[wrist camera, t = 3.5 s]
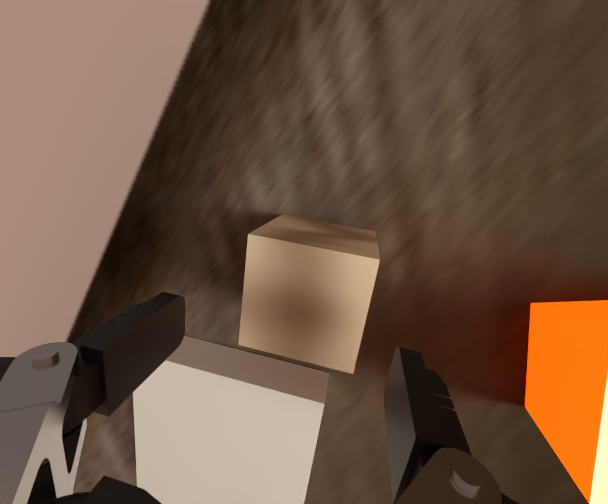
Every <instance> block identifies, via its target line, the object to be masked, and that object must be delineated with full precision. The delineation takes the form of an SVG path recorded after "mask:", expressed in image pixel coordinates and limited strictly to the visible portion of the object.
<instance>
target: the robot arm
mask: <svg viewBox="0 0 608 504" xmlns="http://www.w3.org/2000/svg"><path fill="white" fill-rule="evenodd" d="M184 333H185V299H184V297H182V296H179V295H174V294H170V293H166V292H162V293H160V294H159V295H157V296H155V297H154V298H152V299H151V300H149V301H148V302H143V303H140V304H137V305H135V306H132V307H130V308H128V309H127V310H125V311H123V312H122V313H120V314H119V316H115V317H114V318H112V319H110V320H109V322H105V323H104V324H102V325H101V326H99V327H97V328H96V329H94V330H93V331H91V332H89V333H88V334H86V335H84V336H83V337H81V338H80V339H78V340H76V341H75V342H73V343H71V344H70V343H65V342H56V343H48V344H44V345H40V346H37V347H34V348H32V349H29V350H27V351H26V352H24V353H22V354H21V355H19V356H18V357H0V504H162V503H160V502H159V501H158V500H157V499H156V498H154V497H153V496H152V495H151V494H150V493H148V492H147V491H146V490H145V489H142V488H139V487H136V486H133V485H130V484H127V483H124V482H122V481H119V480H116V479H113V478H110V477H107V476H103V478H102V479H101V480H100V481H99V482H98V484H97V485H96V486H95V487H94V488H93V490H92V491H91V492H83V493H74V494H73V487H74V481H75V477H76V472H77V468H78V463H79V459H80V454H81V450H82V445H83V440H84V436H85V431H86V427H87V421H86V418H87V417H88V416H89V415H90V414H91V413H92V412H96V413H100V414H103V415H106V416H110V415H111V414H112V413H113V412H114V411H115V410H116V409H117V408H118V407H119V406H120V405H121V404H122V403H123V402H124V401H125V400H126V399H127V398H128V397H129V396H130V395H131V394H132V393H133V392H134V391H135V390H136V389H137V388H138V387H139V386H140V385H141V384H142V383H143V382H144V381H145V380H146V379H147V378H148V377H149V376H150V375H151V374H152V373H153V372H154V371H155V370H156V369H157V368H158V367H159V366H160V365H161V364H162V363H163V362H164V361H165V360H166V359H167V358H168V357H169V356H170V355H171V354H172V353H173V352H174V351H175V350H176V349H177V348H178V347H179V346H180V344H181V342H182V340H183V337H184ZM384 408H385V420H386V432H387V444H388V456H389V469H390V481H391V493H392V504H519V503H517V502H515V501H513V500H512V499H510V498H509V497H507V496H506V495H504V494H503V493H501V492H500V489H499V486H498V484H497V482H496V480H495V479H494V477H493V476H492V474H491V473H490V472H489V471H488V470H487V468H486V467H485V466H484V465H483V464H481V463H480V462H479V461H478V460H477V459H475V458H474V457H472V455H471V452H470V449H469V447H468V444H467V441H466V438H465V436H464V433H463V430H462V427H461V425H460V422H459V419H458V417H457V414H456V412H455V411H454V409H455V408H454V406H453V403H452V400H450V395H449V392H448V389H447V387H446V384H445V383H444V382H443V380H442V379H441V378H440V377H439V376H438V374H437V373H436V372H435V371H432V370H428V369H425V366H424V362H423V359H422V356H421V353H420V352H418V351H414V350H409V349H405V348H401V347H397V348H396V350H395V353H394V356H393V360H392V363H391V367H390V370H389V374H388V377H387V381H386V385H385V391H384Z"/></svg>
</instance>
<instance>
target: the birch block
mask: <svg viewBox="0 0 608 504" xmlns="http://www.w3.org/2000/svg"><path fill="white" fill-rule="evenodd" d="M379 262H380V256H379V250H378V243H377V237H376V231H372V230H366V229H361V228H355V227H349V226H344V225H338V224H333V223H327V222H322V221H316V220H311V219H305V218H300V217H294V216H289V215H283V214H282V215H281V216H279V217H277V218H275V219H273V220H272V221H270V222H268V223H266V224H265V225H263V226H261V227H259V228H258V229H256V230H254V231H252V232H251V233H249V234H248V241H247V253H246V264H245V276H244V287H243V299H242V310H241V321H240V333H239V344H238V345H242V346H246V347H250V348H253V349H257V350H261V351H265V352H269V353H273V354H277V355H281V356H285V357H289V358H292V359H296V360H300V361H304V362H308V363H312V364H316V365H320V366H324V367H328V368H331V369H335V370H339V371H343V372H347V373H351V374H353V372H354V368H355V364H356V360H357V355H358V351H359V347H360V343H361V338H362V334H363V330H364V326H365V321H366V317H367V313H368V309H369V304H370V300H371V296H372V292H373V287H374V283H375V279H376V275H377V270H378V266H379Z"/></svg>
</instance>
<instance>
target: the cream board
mask: <svg viewBox="0 0 608 504" xmlns="http://www.w3.org/2000/svg"><path fill="white" fill-rule="evenodd" d="M329 375H330V373H328V372H324V371H320V370H316V369H312V368H309V367H305V366H301V365H297V364H293V363H289V362H285V361H281V360H278V359H274V358H270V357H266V356H262V355H258V354H254V353H250V352H246V351H243V350H239V349H235V348H231V347H227V346H223V345H219V344H215V343H211V342H208V341H204V340H200V339H196V338H192V337H188V336H184V337H183V340H182V342H181V344H180V346H179V347H178V348H177V349H176V350H175V351H174V352H173V353H172V354H171V355H170V356H169V357H168V358H167V359H166V360H165V361H164V362H163V363H162V364H161V365H160V366H159V367H158V368H157V369H156V370H155V371H154V372H153V373H152V374H151V375H150V376H149V377H148V378H147V379H146V380H145V381H144V382H143V383H142V384H141V385H140V386H139V387H138V388H137V389H136V390H135V391H134V392H133V405H134V427H135V449H136V471H137V487H139V488H142V489H145V490H146V491H147V492H148V493H150V494H151V495H152V496H153V497H154V498H156V499H157V500H158V501H159V502H160V503H162V504H304V501H305V496H306V491H307V486H308V481H309V476H310V472H311V467H312V462H313V457H314V452H315V447H316V442H317V438H318V433H319V428H320V423H321V418H322V413H323V409H324V404H325V398H326V392H327V386H328V380H329Z"/></svg>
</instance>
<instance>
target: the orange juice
mask: <svg viewBox="0 0 608 504" xmlns="http://www.w3.org/2000/svg"><path fill="white" fill-rule="evenodd" d="M525 408H526V409H527V411H528V412H529V414H530V415H531V417H532V418H533V420H534V421H535V423H536V424H537V426H538V427H539V429H540V430H541V432H542V433H543V435H544V436H545V438H546V439H547V441H548V442H549V444H550V445H551V447H552V448H553V450H554V451H555V453H556V454H557V456H558V457H559V459H560V460H561V462H562V463H563V465H564V466H565V468H566V469H567V471H568V472H569V474H570V475H571V477H572V478H573V480H574V482H575V483H576V485H577V486H578V488H579V489H580V491H581V492H582V494H583V495H584V497H585V498H586V500H587V501H588V503H589V504H608V300H603V301H575V302H548V303H531V310H530V327H529V344H528V360H527V377H526V394H525Z"/></svg>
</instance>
